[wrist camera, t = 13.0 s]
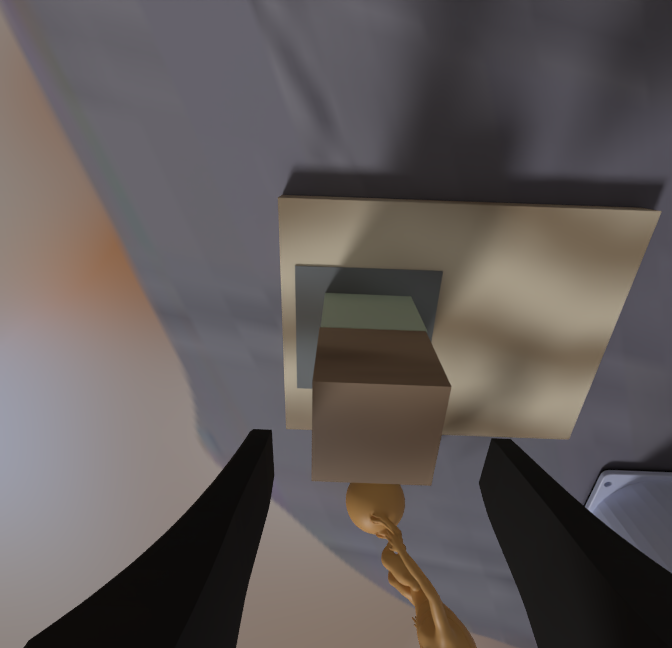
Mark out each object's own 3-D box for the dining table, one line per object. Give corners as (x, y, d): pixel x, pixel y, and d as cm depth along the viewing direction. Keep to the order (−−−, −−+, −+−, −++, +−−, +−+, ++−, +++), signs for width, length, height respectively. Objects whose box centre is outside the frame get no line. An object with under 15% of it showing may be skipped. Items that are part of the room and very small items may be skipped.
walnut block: (412, 415, 17) (431, 485, 14) (318, 411, 17) (311, 481, 14) (425, 331, 15) (451, 386, 12) (319, 327, 15) (312, 381, 12)
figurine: (331, 439, 25) (322, 661, 14) (417, 422, 24) (479, 643, 13) (359, 518, 28) (370, 744, 17) (436, 505, 28) (497, 734, 17)
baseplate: (558, 426, 24) (569, 440, 23) (288, 416, 24) (286, 430, 23) (642, 207, 18) (663, 211, 17) (281, 194, 18) (277, 197, 17)
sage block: (401, 369, 21) (413, 415, 17) (322, 366, 21) (318, 411, 17) (410, 296, 19) (427, 330, 15) (325, 292, 19) (320, 326, 15)
